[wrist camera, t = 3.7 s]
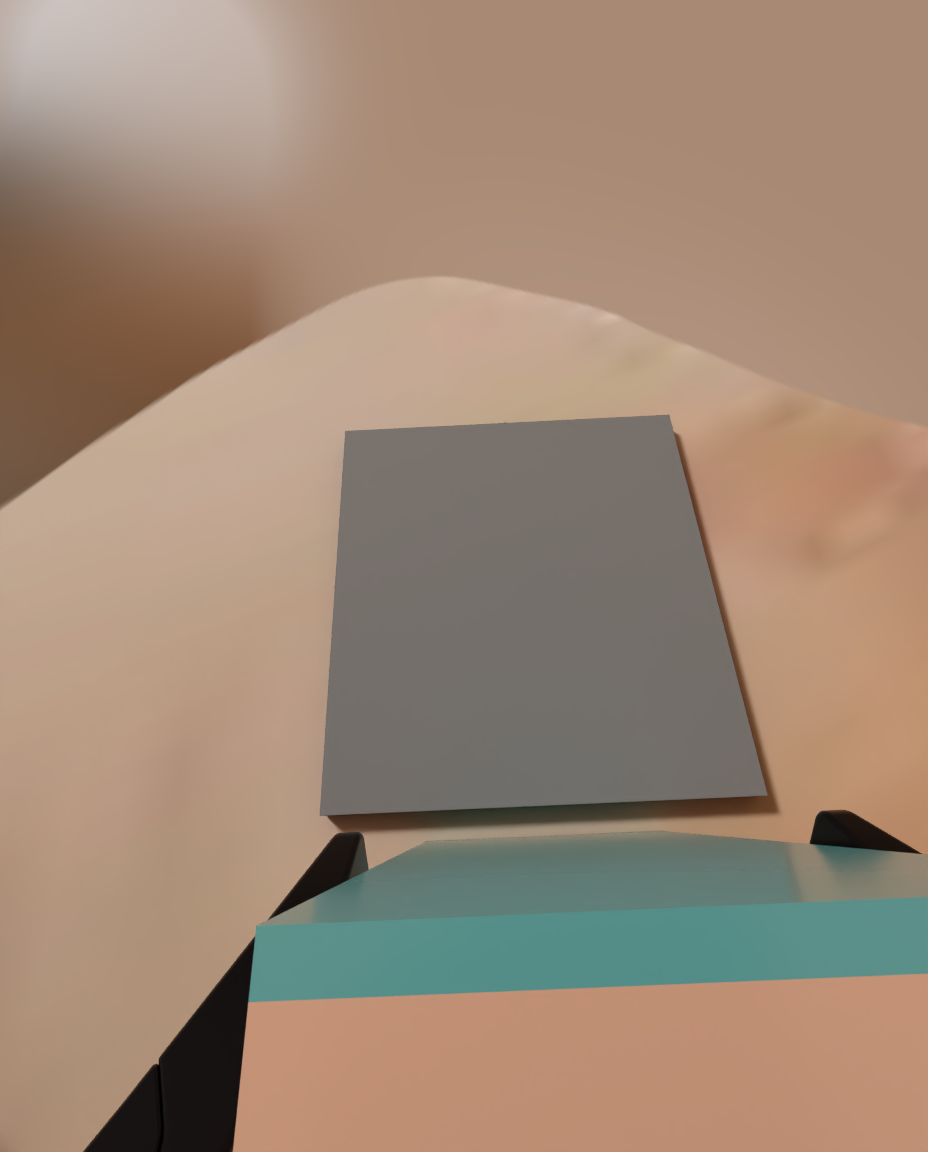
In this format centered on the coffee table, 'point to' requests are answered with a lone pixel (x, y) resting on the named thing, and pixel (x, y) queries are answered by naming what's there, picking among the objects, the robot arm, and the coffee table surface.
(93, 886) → the coffee table surface
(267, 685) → the coffee table surface
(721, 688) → the mat
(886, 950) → the tile
